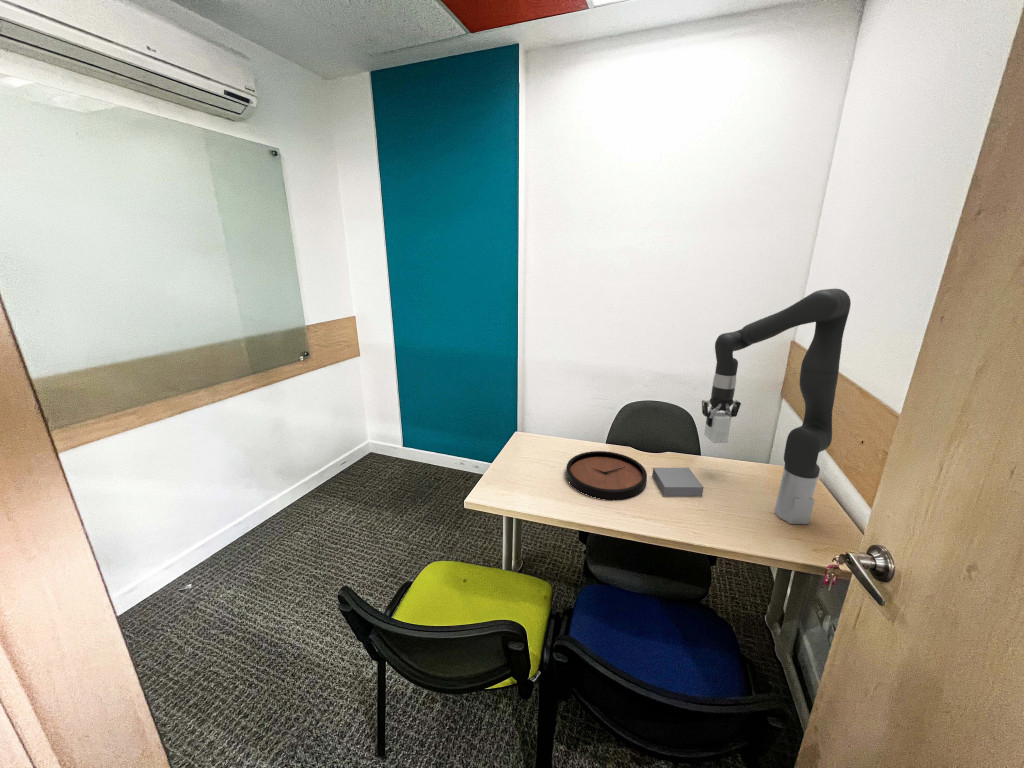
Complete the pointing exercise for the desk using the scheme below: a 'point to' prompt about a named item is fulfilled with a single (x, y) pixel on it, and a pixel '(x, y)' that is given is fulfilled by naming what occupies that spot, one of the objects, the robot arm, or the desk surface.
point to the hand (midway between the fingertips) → (717, 426)
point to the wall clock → (606, 475)
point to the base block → (677, 482)
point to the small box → (718, 428)
